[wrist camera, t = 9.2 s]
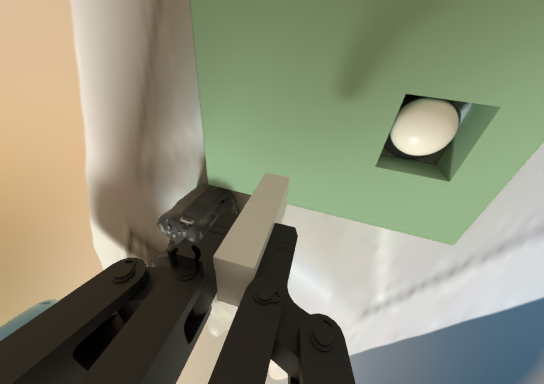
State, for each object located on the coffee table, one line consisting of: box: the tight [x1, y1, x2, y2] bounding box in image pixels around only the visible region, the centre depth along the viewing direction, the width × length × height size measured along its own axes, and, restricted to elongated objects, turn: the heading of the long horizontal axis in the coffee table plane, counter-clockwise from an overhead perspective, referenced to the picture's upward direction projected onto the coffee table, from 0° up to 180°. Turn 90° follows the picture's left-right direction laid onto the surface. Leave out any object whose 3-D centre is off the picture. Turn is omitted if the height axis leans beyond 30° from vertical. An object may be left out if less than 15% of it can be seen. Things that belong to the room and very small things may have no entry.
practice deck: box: [190, 0, 544, 245], centre depth 17 cm, size 24×17×3 cm
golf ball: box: [390, 97, 459, 156], centre depth 15 cm, size 4×4×4 cm
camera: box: [151, 185, 239, 267], centre depth 26 cm, size 13×10×10 cm
